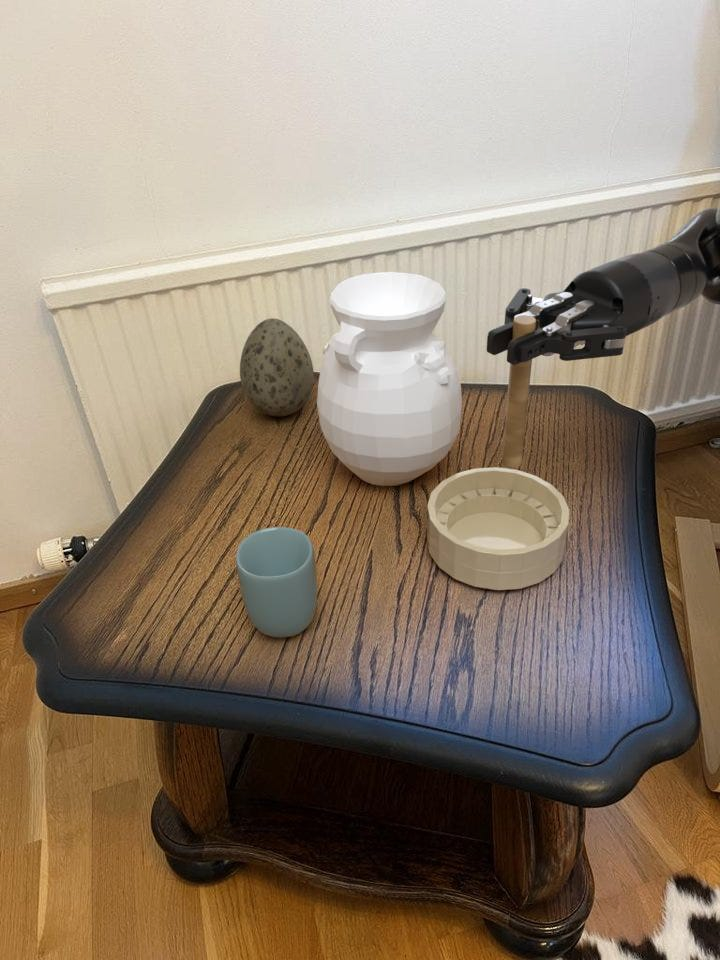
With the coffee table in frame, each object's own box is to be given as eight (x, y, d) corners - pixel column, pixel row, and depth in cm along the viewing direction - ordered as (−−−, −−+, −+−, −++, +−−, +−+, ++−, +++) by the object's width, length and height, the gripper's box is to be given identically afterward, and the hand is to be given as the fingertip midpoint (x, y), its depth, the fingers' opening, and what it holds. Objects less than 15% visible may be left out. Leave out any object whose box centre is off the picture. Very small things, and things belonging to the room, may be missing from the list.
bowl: (582, 532, 90) (589, 492, 87) (530, 614, 80) (535, 573, 76) (464, 492, 97) (466, 453, 94) (403, 563, 87) (402, 523, 84)
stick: (524, 460, 79) (539, 317, 69) (516, 470, 77) (530, 326, 68) (506, 455, 80) (519, 313, 70) (498, 464, 78) (510, 321, 69)
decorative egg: (294, 387, 122) (285, 298, 113) (330, 415, 114) (323, 323, 105) (234, 408, 117) (219, 317, 108) (266, 439, 110) (253, 344, 101)
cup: (323, 595, 84) (316, 525, 78) (318, 649, 77) (310, 578, 71) (253, 595, 84) (241, 526, 78) (242, 650, 78) (228, 579, 72)
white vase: (402, 528, 92) (401, 340, 77) (294, 474, 102) (274, 299, 87) (486, 458, 103) (499, 282, 89) (381, 416, 113) (377, 251, 99)
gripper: (573, 243, 79) (449, 288, 71) (690, 280, 70) (563, 336, 62) (565, 310, 84) (447, 359, 76) (674, 354, 74) (553, 415, 66)
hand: (500, 349), depth 69 cm, fingers closed on stick, 2 cm apart
